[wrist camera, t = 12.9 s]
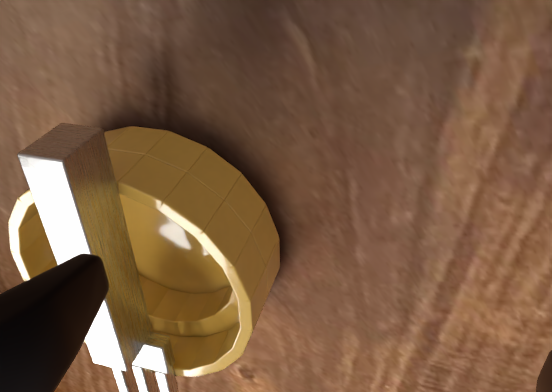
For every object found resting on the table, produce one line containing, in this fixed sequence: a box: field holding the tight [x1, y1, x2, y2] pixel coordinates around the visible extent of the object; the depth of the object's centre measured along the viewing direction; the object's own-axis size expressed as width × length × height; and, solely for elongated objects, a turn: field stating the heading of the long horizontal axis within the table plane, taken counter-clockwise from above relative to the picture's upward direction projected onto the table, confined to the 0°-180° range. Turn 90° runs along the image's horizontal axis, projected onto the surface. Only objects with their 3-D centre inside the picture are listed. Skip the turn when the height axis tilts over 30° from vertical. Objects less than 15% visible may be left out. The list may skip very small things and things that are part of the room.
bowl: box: [8, 126, 280, 377], centre depth 25 cm, size 12×12×5 cm
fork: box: [18, 123, 179, 392], centre depth 22 cm, size 17×4×2 cm, turn 1°
